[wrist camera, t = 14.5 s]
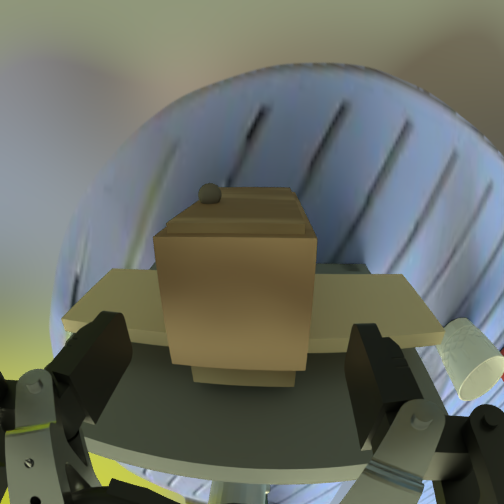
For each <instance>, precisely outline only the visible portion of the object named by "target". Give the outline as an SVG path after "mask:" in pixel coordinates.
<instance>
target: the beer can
mask: <svg viewBox="0 0 504 504" xmlns="http://www.w3.org/2000/svg"><path fill="white" fill-rule="evenodd" d="M500 353H501V354H502V355H503V356H504V348H503V349H502V350H501V351H500ZM501 378H502V380H503V381H504V372H503V374H502V376H501Z"/></svg>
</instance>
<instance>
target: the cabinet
mask: <svg viewBox="0 0 504 504" xmlns="http://www.w3.org/2000/svg"><path fill="white" fill-rule="evenodd" d="M198 197H199V200H198V201H197V202H196V203H194V204H193V205H191V206H190V207H188V208H187V209H185V210H184V211H183V212H181V213H180V214H178V215H177V216H176V217H174V218H173V219H171V220H170V221H169V222H167V223H166V226H167V227H165V228H164V229H163V230H161V231H160V232H159V233H157V234H156V235H155V236H154V237H153V242H154V251H155V260H156V268H157V275H158V283H159V290H160V297H161V303H162V310H163V316H164V322H165V328H166V334H167V339H168V344H169V350H170V355H171V360H172V364H179V365H188V366H191V369H192V375H193V381H194V382H200V383H211V384H223V385H239V386H263V387H294V384H295V374H296V371H305V370H306V362H307V353H308V345H309V335H310V326H311V316H312V305H313V294H314V282H315V268H316V254H317V237H316V235H315V232H314V230H313V228H312V226H311V224H310V222H309V220H308V218H307V216H306V214H305V212H304V210H303V208H302V206H301V204H300V201H299V199H298V197H297V195H296V193H295V192H292V191H291V189H290V188H288V187H218V186H217V185H215V184H213V183H208V184H205V185H203V186H202V187H201V188H200V190H199V193H198Z"/></svg>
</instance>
